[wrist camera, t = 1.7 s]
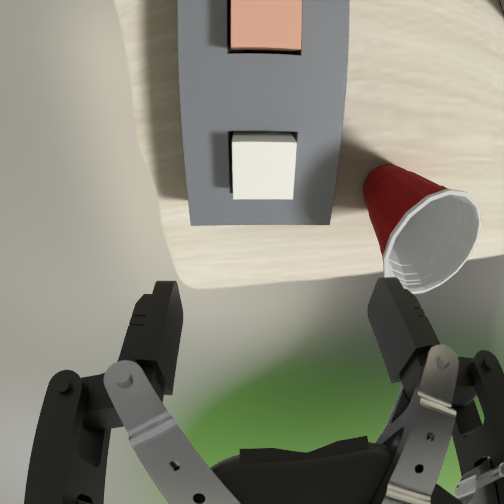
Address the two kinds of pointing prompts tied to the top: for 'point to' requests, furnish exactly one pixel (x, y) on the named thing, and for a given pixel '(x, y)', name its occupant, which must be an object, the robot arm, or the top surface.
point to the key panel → (261, 111)
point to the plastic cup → (420, 226)
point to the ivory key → (263, 164)
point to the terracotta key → (266, 25)
